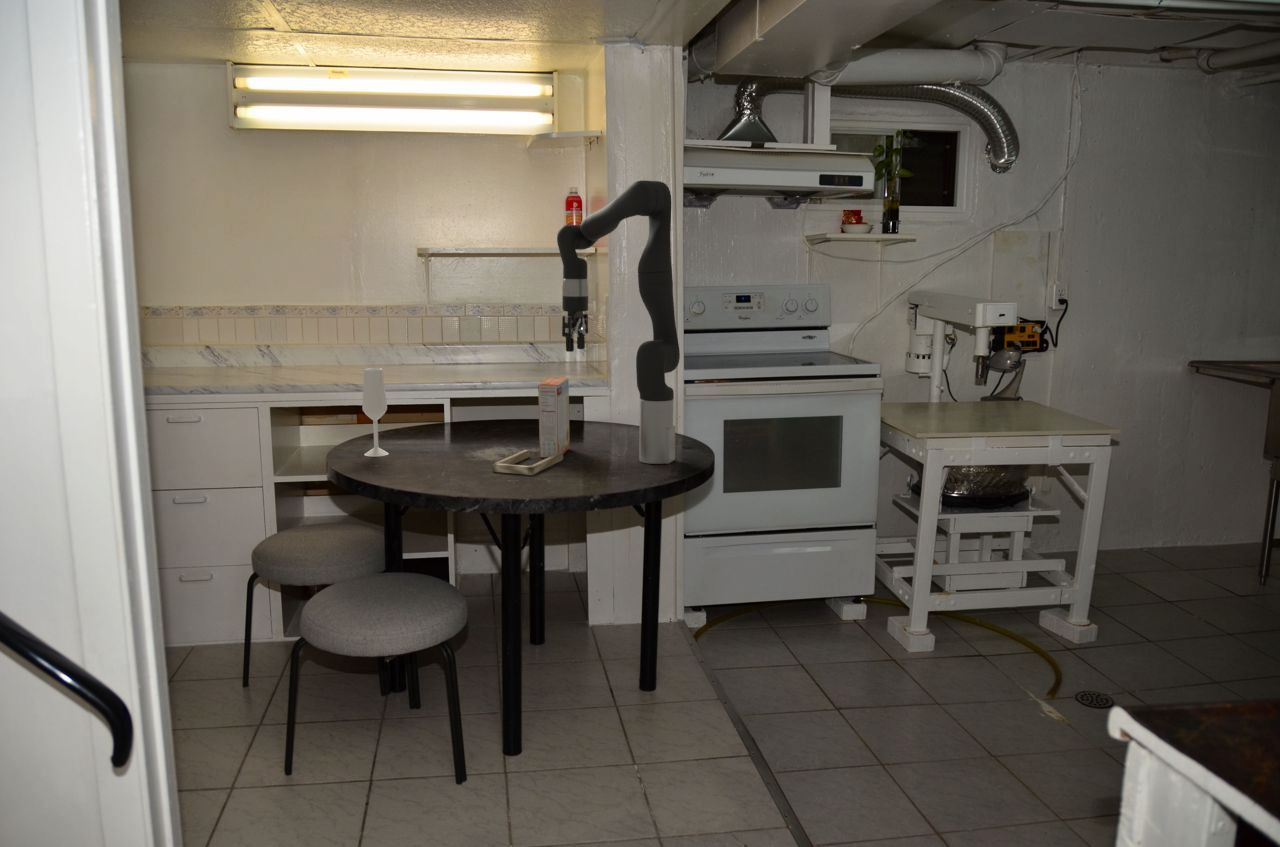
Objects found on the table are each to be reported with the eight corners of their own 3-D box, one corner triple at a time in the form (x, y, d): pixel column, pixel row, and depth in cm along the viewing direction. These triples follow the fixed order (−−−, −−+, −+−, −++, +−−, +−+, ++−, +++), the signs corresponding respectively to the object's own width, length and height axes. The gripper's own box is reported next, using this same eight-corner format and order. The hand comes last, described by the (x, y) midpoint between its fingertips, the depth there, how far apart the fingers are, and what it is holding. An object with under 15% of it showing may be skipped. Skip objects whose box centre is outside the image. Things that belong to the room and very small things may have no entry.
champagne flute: (382, 457, 272) (379, 370, 268) (359, 455, 273) (356, 370, 269) (393, 452, 279) (390, 368, 274) (371, 451, 280) (367, 367, 276)
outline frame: (563, 459, 271) (563, 452, 270) (532, 475, 252) (532, 467, 252) (525, 456, 274) (525, 449, 274) (492, 471, 256) (492, 463, 255)
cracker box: (549, 448, 286) (549, 377, 283) (570, 449, 285) (570, 377, 282) (537, 458, 273) (537, 383, 269) (559, 459, 272) (558, 384, 268)
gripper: (578, 296, 278) (578, 353, 281) (596, 294, 292) (596, 348, 294) (553, 295, 281) (554, 352, 284) (572, 293, 294) (572, 347, 297)
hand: (575, 350), depth 289 cm, fingers open, 8 cm apart
